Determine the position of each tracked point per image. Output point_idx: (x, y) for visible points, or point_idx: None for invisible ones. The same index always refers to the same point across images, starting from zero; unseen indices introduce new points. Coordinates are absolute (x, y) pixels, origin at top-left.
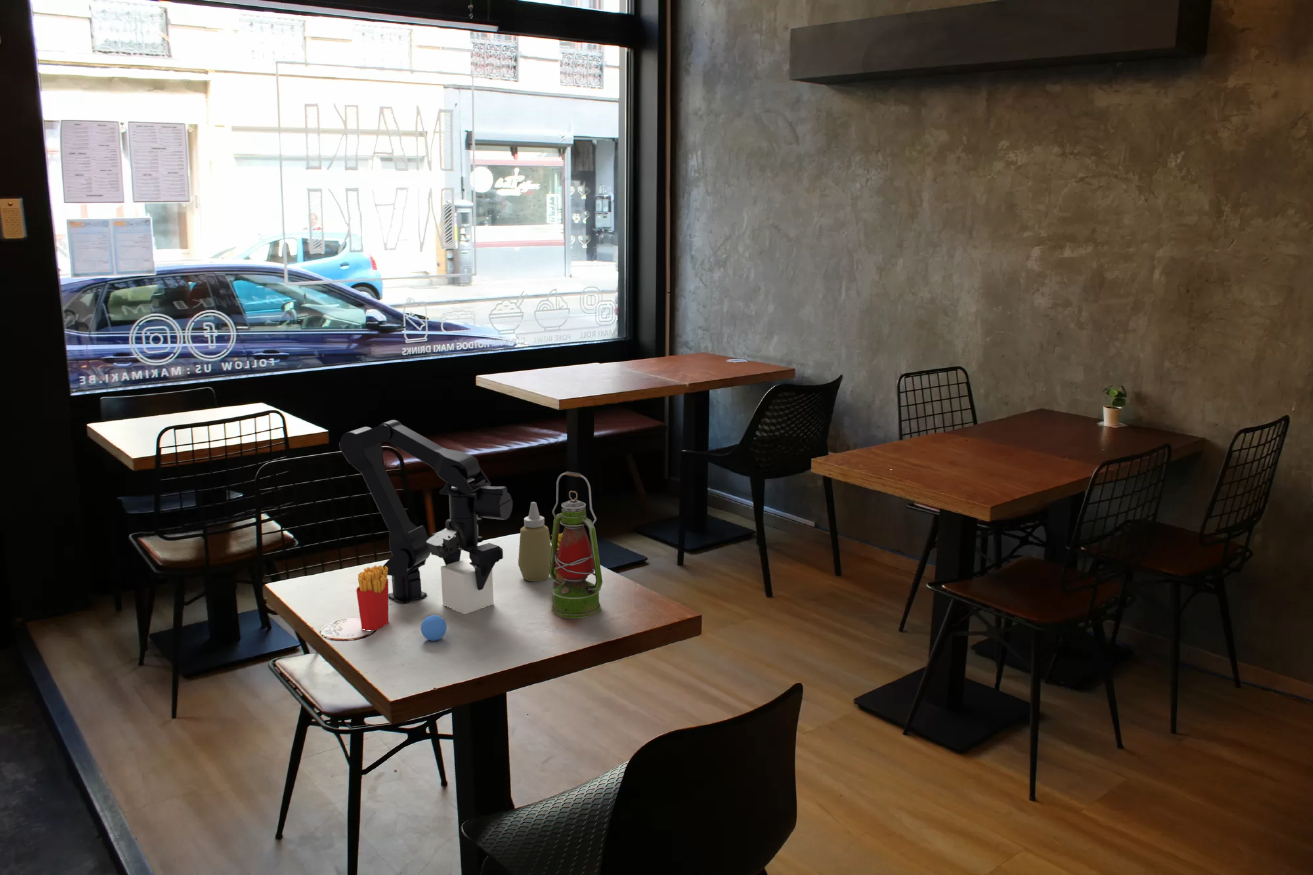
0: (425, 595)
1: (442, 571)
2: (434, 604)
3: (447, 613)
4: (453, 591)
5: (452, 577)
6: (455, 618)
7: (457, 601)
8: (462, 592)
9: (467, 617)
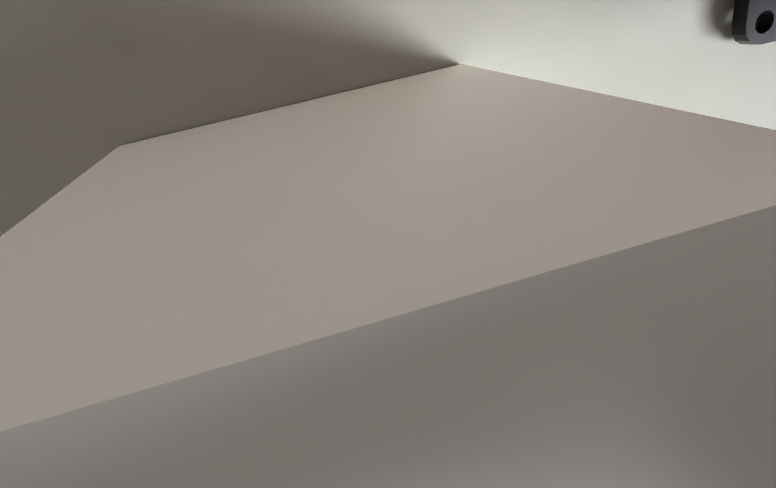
0: (739, 19)
1: (726, 145)
2: (534, 7)
3: (239, 7)
4: (292, 151)
5: (315, 234)
6: (44, 14)
7: (215, 141)
8: (38, 222)
9: (23, 137)
